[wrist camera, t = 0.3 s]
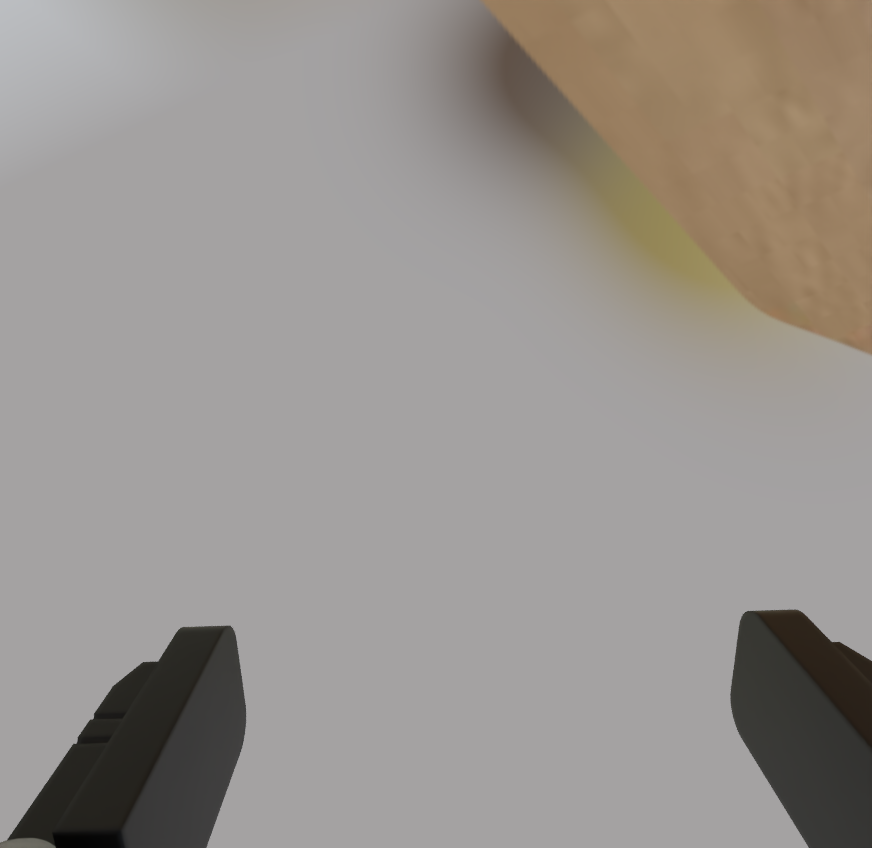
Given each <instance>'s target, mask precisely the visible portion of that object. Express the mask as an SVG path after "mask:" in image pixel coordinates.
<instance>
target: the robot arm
mask: <svg viewBox="0 0 872 848" xmlns="http://www.w3.org/2000/svg"><path fill="white" fill-rule="evenodd" d="M731 708H732V713H733V718H734V721H735V724H736V727H737V730H738V732H739V734H740V736H741V738H742V739H743V741H744V743H745V744H746V746H747V748H748V749H749V751H750V753H751V754H752V756H753V757H754V759H755V761H756V762H757V764H758V766H759V767H760V769H761V770H762V772H763V774H764V775H765V777H766V779H767V780H768V782H769V783H770V785H771V787H772V788H773V790H774V791H775V793H776V795H777V796H778V798H779V800H780V801H781V803H782V804H783V806H784V808H785V809H786V811H787V813H788V814H789V816H790V818H791V819H792V820H793V822H794V824H795V826H796V827H797V829H798V831H799V832H800V834H801V835H802V837H803V838H804V840H805V842H806V844H807V845H808V847H809V848H872V661H871V660H869V659H867V658H866V657H864V656H862V655H860V654H859V653H857V652H855V651H854V650H852V649H850V648H849V647H847V646H845V645H844V644H842V643H840V642H831V641H830V640H829V639H828V638H827V637H826V636H825V635H824V634H823V633H822V632H821V631H820V630H819V629H818V628H817V627H816V626H815V625H814V623H812V621H811V620H810V619H808V617H807V616H806V615H805V614H803V613H802V612H801V611H799V610H770V611H768V610H767V611H747V612H745V613H744V614H743V616H742V618H741V620H740V625H739V633H738V640H737V647H736V655H735V664H734V670H733V679H732V686H731ZM245 727H246V705H245V699H244V691H243V683H242V676H241V669H240V663H239V655H238V648H237V641H236V635H235V632H234V630H233V628H232V627H231V626H205V627H182V628H180V629H179V630H178V631H177V633H176V634H175V636H174V637H173V639H172V641H171V642H170V644H169V645H168V647H167V649H166V650H165V652H164V653H163V655H162V657H161V658H160V660H159V661H158V662H143V663H141V664H140V665H139V666H138V667H136V669H134V670H133V671H132V672H130V673H129V674H128V675H127V676H125V677H124V678H123V679H122V680H120V681H119V682H118V683H117V684H116V685H114V686H113V687H112V689H111V690H110V692H109V693H108V695H107V696H106V697H105V699H104V700H103V702H102V703H101V705H100V706H99V708H98V709H97V711H96V712H95V713H94V719H93V720H90V721H89V722H88V724H87V725H86V727H85V728H84V730H83V731H82V732H81V734H80V735H79V737H78V742H77V744H73V745H72V747H71V748H70V750H69V751H68V753H67V754H66V756H65V757H64V758H63V760H62V761H61V763H60V764H59V766H58V767H57V769H56V770H55V772H54V773H53V775H52V776H51V777H50V779H49V780H48V782H47V783H46V784H45V786H44V788H43V789H42V791H41V792H40V793H39V795H38V796H37V798H36V799H35V800H34V802H33V803H32V805H31V806H30V808H29V809H28V811H27V812H26V814H25V815H24V817H23V818H22V819H21V821H20V822H19V824H18V825H17V827H16V828H15V830H14V831H13V832H12V834H11V835H10V837H9V838H8V840H7V841H4V842H1V843H0V848H206V847H207V844H208V841H209V838H210V836H211V833H212V830H213V827H214V824H215V822H216V819H217V816H218V813H219V811H220V808H221V805H222V802H223V799H224V797H225V794H226V791H227V788H228V786H229V783H230V780H231V777H232V774H233V772H234V769H235V766H236V763H237V760H238V758H239V755H240V752H241V749H242V745H243V741H244V735H245Z"/></svg>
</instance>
